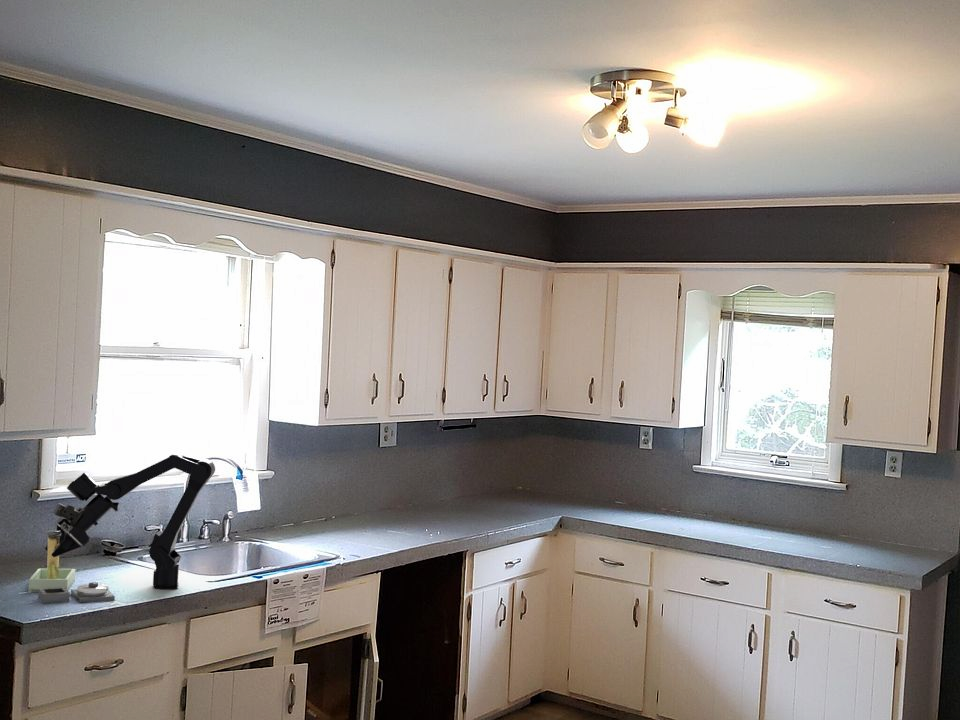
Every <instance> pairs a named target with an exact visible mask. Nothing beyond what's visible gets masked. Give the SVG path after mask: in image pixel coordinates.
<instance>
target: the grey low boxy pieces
mask: <svg viewBox="0 0 960 720" xmlns="http://www.w3.org/2000/svg"><path fill="white" fill-rule="evenodd" d="M37 593H38V595H37V596H38V597H37V598H38V600H39V601H40V603H42V604H43V605H47V604H60V603H70V596H72V597H73V598H74V599H75V600H76V601H77V602H78V603H79V604H85V603H97V602H99V603H100V602H109V601H110V602H111V601H115V597H116V596H115V595H114V594H113V593H112V592H111V591H110V590H109V585H108V584H103V583H98V582H94V581H93V582H88V583H86V584H85V583H84V584H80V585H78V586H77V587H76V589H73V588H72V589H71V590H70V591H69V590H67V589H66V588H65V587H61V588H46V589H39V592H37Z"/></svg>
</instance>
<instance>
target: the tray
mask: <svg viewBox="0 0 960 720" xmlns="http://www.w3.org/2000/svg"><path fill="white" fill-rule="evenodd" d="M75 580H76V568H59V574H58V579H47V568H37V570H36V571H35V572H34V573H33V574H32V575H31V577H30V578H29V579H28V590H27V591H28V593H39V589H46V588H61V587H65V588H66V589H67V590H68V591H69V590H70V588H71V587H72V586H73V584H74V583H75Z"/></svg>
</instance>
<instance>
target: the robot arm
mask: <svg viewBox="0 0 960 720" xmlns="http://www.w3.org/2000/svg"><path fill="white" fill-rule="evenodd" d="M173 469H176V470H179V471H181V472H183V473H185V474H187V475H189V477H188V481H187V486H186V488H185V491H184V492H183V493H182V495H181V498H180V500H179V502H178V504H177V506H176V507H175V509H174V511H173V513H172V515H171V516H170V519H169V521H168V523H167V525H166V527H165V528H164V530H163V531H161V530H159V531H157V532H156V533H155V534H154V536H153V538H152V542H151V543H150V544H149V545H148V547H149V550H148V555H149V558H150V559H151V560H152V561H153V562H154V565H155V569H154V570H153V575H152V586H153V589H154V588H155V589H154V590H156V589H157V590H159V589H161V590H162V589H163V590H165V589H166V590H177V589H178V587H179V570H180V569H179V568H180V564H179V563H180V560H181V558H182V556H181V555H180V554H179V553H178V551H177V550H176V549H175V547H176V544H177V540H178V537H179V532H180V531H181V528H182V526H183V525H184V523H185V520H186V519H187V516H188V515H189V513H190V511H191V509H192V507H193V505H194V504H195V502H196V499H197V498H198V496H199V494H200V492H201V490H202V489H203V488H204V487H205V486H206V484H207V483H209V480H210V479H211V478H212V477H213V476H214V475H215V472H216V466H215V463H213V461H212V460H210V459H208V458H207V459H199V458H193V457H189V456H186V455H183V454H181V453H177V452H176V453H173V454H171V455H169V456H168V457H167V458H164V459H163V460H160V461H158V462H156V463H154V464H151V465H149V466H147V467H146V468H143V469H142V470H140V471H138V472H134V473H131V474H128V475H124V476H120V477H117V478H114V479H112V480H110V481H108V482H107V483H104V482H103V483H101V484H100V483H99V484H98V483H97V482H96V481H95V480H94V479H93V478H92V477H91V476H90V474H89V473H87V472H83V473H82V474H81V475H79V476H78V477H77V478H75V479H74V480H72V481H71V482H70V483H69V484H68V486H67V487H66V489H67V490H68V491H69V492H70V493H71V494H72V495H73V496H74V497H75V498H77V500H78V501H79V502H84V501H85V502H88V503H87V504H85V506H83V507H78V508H77V509H75V507H74V506H72V505H71V504H67V505H64V504H62V503H60V502H58V503H57V505H56V506H55V507H54V509H53V512H52V514H54V515H55V516H57V517H59V518H58V519H57V520H55V522H56V523H55V530H61V536H59V545H58V547H57V548H56V549H55V550H54V551H53V553H52V554H51V555H52V556H53V557H56V556H59V557H60V556H61V555H63V554H66V553H68V552H71V551H74V550H76V549H79V548H80V549H81V548H82V546H83V547H86V546H87V544H89V543H90V538H91V537H90V536H89V535H88V533H87V532H88V531H89V530H90V529H91V528H93V526H96V527H97V525H98V524H99V523H98V522H99V521H100V520H101V519H103V517H104V516H105V515H106V514H107V513H108V512H110V510H113V511H114V512H115V513H118V512H119V509H118V508H119V505H120V503H119V502H114V501H117V500H120V499H121V498H124V497H125V496H126V495H128V494H130V493H131V492H133V491H134V490H135V489H136V488H137V487H139V486H141V485H142V484H144V483H147V482H149V481H150V480H152V479H154V478H156V477H158V476H161V475H163V474H164V473H167V472H169V471H171V470H173ZM104 496H105V497H104ZM91 498H92V499H91ZM89 500H90V501H89ZM44 550H45V551H47V552H48V543H47V544H46V546H45V547H44Z"/></svg>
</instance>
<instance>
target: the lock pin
mask: <svg viewBox="0 0 960 720" xmlns="http://www.w3.org/2000/svg"><path fill="white" fill-rule="evenodd" d="M45 533H46V534H45V536H46V537H47V544H48V551H47V557H46V560H47V562H46V563H47V564H46V569H47V579H58V574H59V569H60V555H59V556H56V557H53V556H52V555H51V554H52V553H53V551H54V550H55V549H56V548H57V547H58V545H59V536H61V530H56V529H52V530H51V529H50V530H46V532H45Z"/></svg>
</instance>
